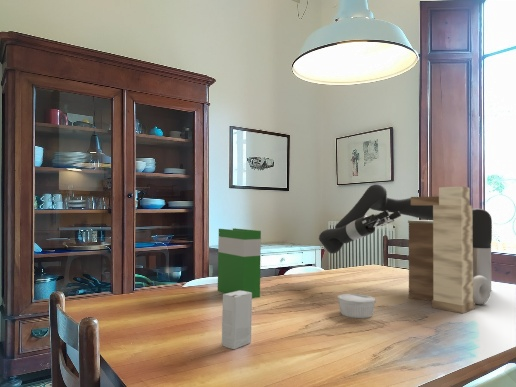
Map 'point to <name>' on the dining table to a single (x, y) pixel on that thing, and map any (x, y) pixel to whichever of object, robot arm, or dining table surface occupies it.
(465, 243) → the wooden block
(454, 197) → the brown tan long block
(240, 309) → the skincare box
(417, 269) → the cream-topped wooden box
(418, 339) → the dining table surface
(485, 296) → the donut
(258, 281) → the green cereal box
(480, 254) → the robot arm
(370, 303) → the ramekin
